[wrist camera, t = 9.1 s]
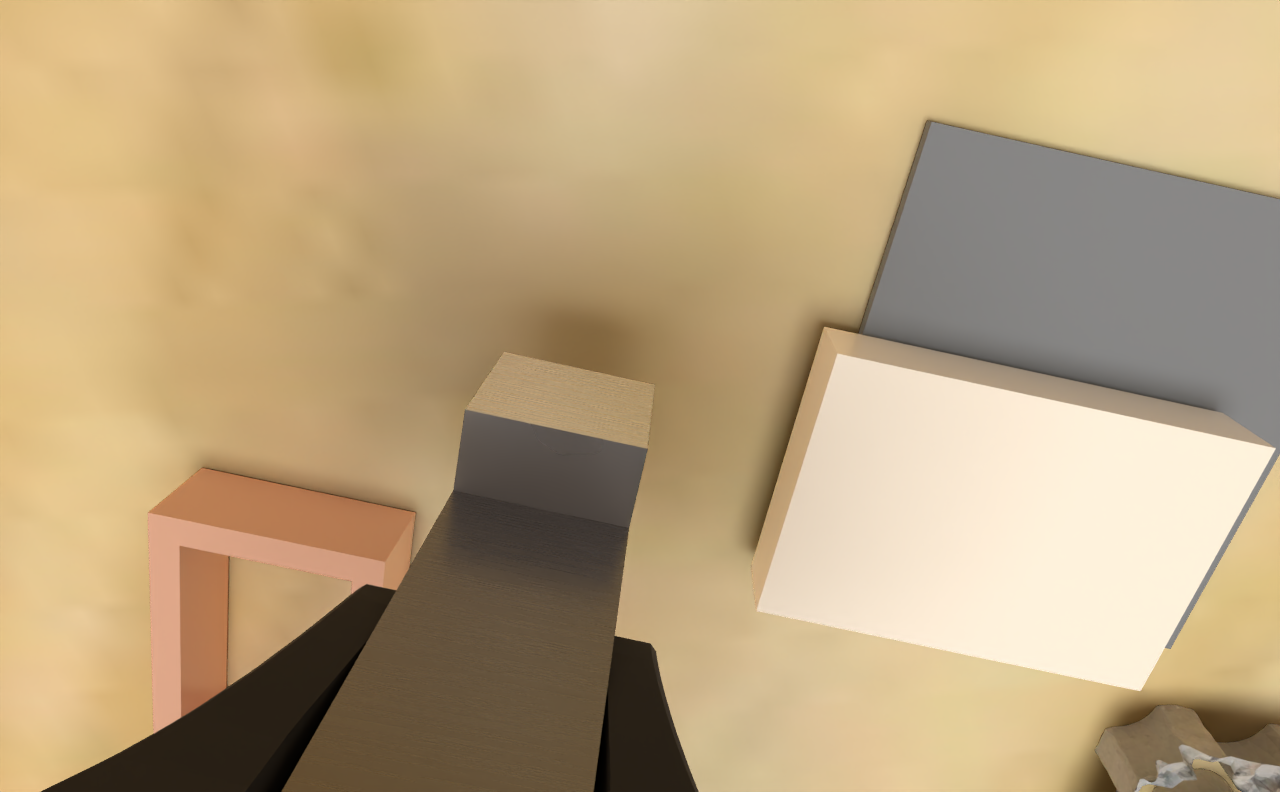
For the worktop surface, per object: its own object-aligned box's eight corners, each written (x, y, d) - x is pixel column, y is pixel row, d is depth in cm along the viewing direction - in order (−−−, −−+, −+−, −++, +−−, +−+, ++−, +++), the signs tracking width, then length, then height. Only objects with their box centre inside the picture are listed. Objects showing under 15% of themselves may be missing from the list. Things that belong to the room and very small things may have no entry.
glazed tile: (750, 560, 23) (1100, 634, 23) (755, 611, 21) (1140, 690, 21) (822, 323, 20) (1217, 408, 20) (837, 353, 18) (1275, 448, 18)
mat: (1162, 640, 24) (1170, 648, 23) (785, 560, 23) (786, 568, 23) (1393, 224, 19) (1406, 227, 19) (926, 120, 19) (931, 121, 18)
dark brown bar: (654, 384, 16) (608, 800, 7) (597, 632, 18) (502, 1204, 9) (504, 352, 16) (249, 726, 7) (463, 604, 18) (230, 1151, 9)
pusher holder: (415, 512, 23) (385, 561, 21) (387, 751, 27) (359, 816, 25) (201, 467, 23) (148, 512, 21) (201, 713, 27) (154, 775, 24)
